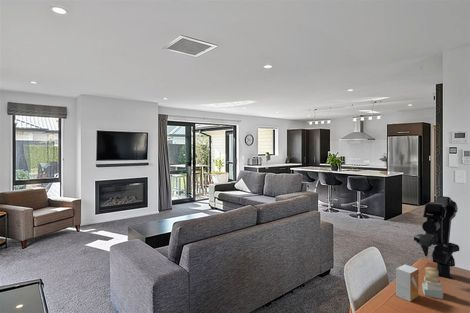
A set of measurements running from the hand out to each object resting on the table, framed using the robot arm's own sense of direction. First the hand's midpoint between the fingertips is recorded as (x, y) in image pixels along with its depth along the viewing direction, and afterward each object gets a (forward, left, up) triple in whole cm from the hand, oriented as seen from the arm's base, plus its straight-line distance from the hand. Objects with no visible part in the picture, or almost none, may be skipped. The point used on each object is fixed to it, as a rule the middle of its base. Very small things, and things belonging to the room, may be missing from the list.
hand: (435, 259), depth 135 cm
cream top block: (+10, -3, -10) cm, 14 cm away
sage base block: (+10, -3, -13) cm, 17 cm away
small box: (+18, -14, -13) cm, 26 cm away
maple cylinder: (+11, -3, -6) cm, 13 cm away
